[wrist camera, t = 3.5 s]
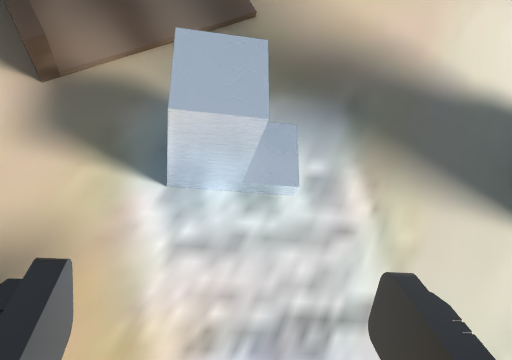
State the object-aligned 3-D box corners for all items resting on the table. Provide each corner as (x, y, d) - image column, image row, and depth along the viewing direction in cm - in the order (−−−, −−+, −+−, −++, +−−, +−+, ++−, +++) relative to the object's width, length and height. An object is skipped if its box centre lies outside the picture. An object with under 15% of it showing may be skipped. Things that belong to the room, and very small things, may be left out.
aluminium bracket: (166, 186, 26) (167, 108, 18) (172, 124, 28) (175, 27, 20) (292, 195, 28) (345, 127, 20) (290, 135, 29) (338, 49, 21)
